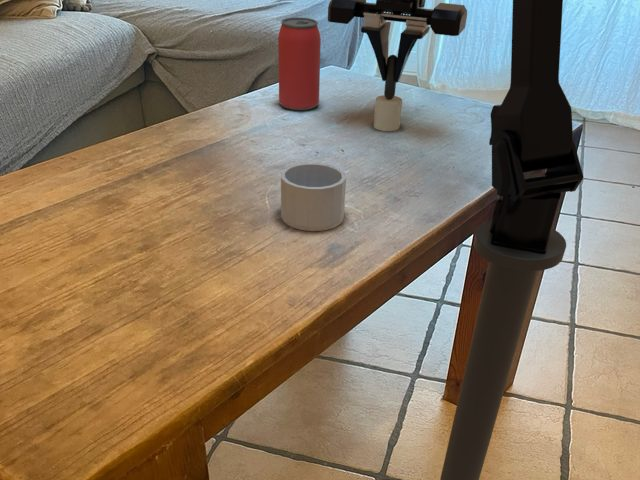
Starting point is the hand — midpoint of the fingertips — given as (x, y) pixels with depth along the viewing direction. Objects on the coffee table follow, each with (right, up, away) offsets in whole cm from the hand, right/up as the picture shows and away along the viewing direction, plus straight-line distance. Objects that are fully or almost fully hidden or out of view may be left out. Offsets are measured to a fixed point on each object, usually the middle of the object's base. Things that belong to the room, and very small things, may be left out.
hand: (390, 81), depth 98 cm
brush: (0, -5, +4) cm, 6 cm away
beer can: (-14, +2, +11) cm, 18 cm away
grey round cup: (-11, -26, -19) cm, 35 cm away
